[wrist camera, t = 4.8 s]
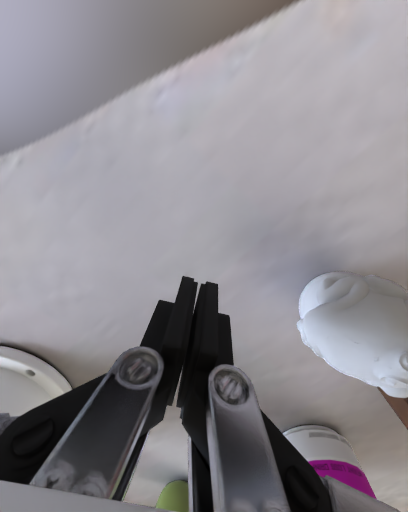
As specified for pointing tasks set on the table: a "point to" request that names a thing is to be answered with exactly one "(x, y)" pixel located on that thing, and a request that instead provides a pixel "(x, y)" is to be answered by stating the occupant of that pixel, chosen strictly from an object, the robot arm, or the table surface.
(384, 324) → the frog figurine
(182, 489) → the pear
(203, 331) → the robot arm
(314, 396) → the table surface
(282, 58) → the table surface
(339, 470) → the supplement can
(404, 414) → the walnut stand
